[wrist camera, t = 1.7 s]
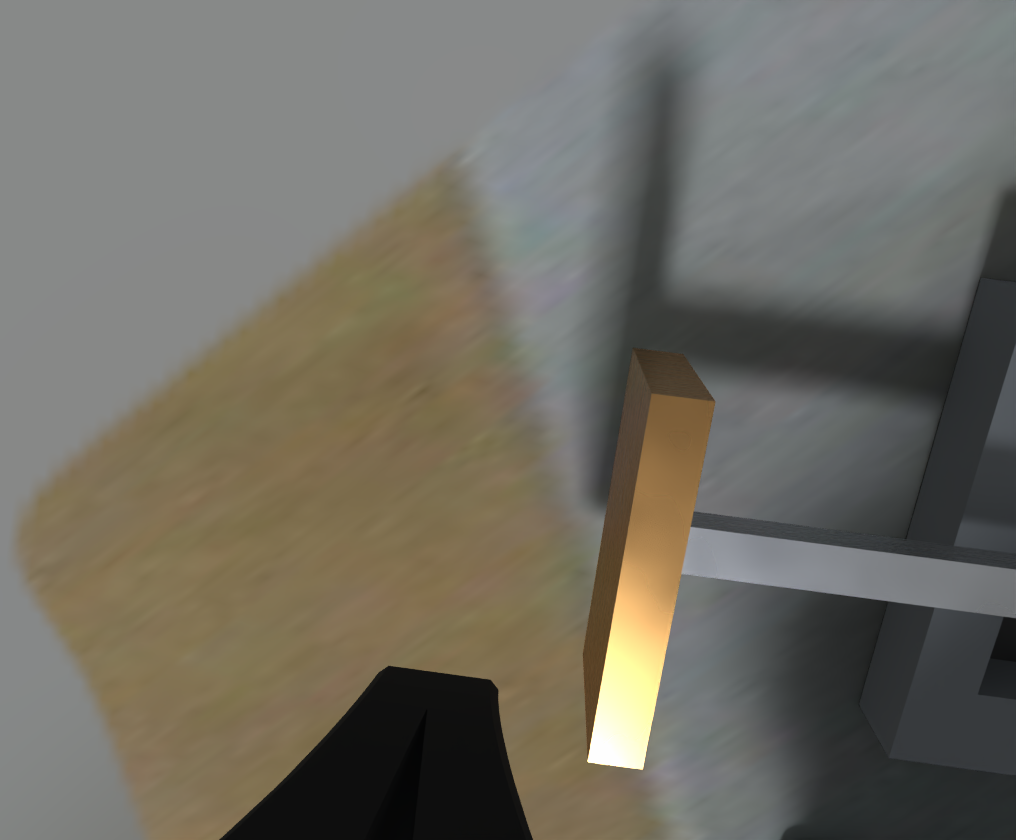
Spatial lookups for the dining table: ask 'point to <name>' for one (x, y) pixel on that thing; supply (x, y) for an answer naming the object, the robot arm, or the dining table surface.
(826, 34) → the dining table surface
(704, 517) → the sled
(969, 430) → the tunnel deck
